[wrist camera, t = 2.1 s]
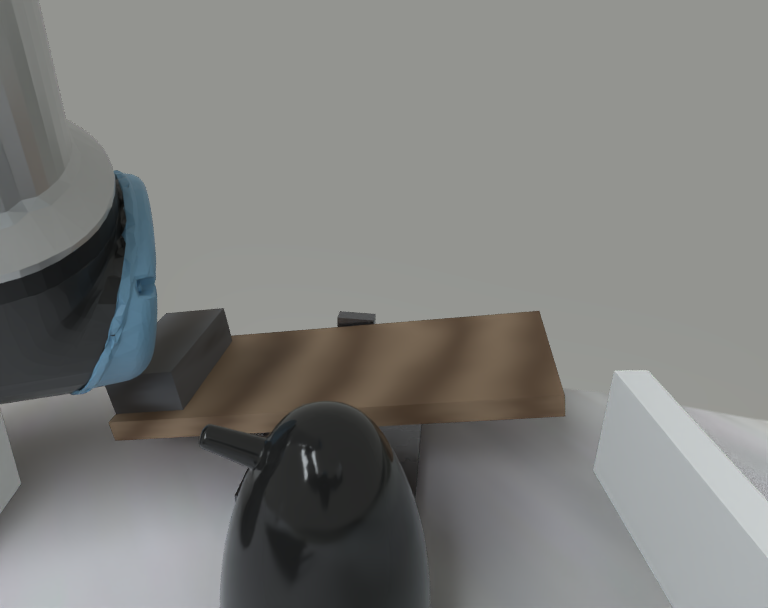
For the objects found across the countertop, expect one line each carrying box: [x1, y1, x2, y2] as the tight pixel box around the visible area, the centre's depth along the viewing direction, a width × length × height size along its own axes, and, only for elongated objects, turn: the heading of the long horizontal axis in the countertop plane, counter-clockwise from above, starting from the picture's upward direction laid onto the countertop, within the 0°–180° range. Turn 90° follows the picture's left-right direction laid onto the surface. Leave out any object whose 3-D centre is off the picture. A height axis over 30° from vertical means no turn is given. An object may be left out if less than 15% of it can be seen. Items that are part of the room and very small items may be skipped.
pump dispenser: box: [199, 401, 430, 608], centre depth 28 cm, size 10×10×15 cm
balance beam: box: [105, 308, 565, 441], centre depth 44 cm, size 30×12×4 cm, turn 84°
